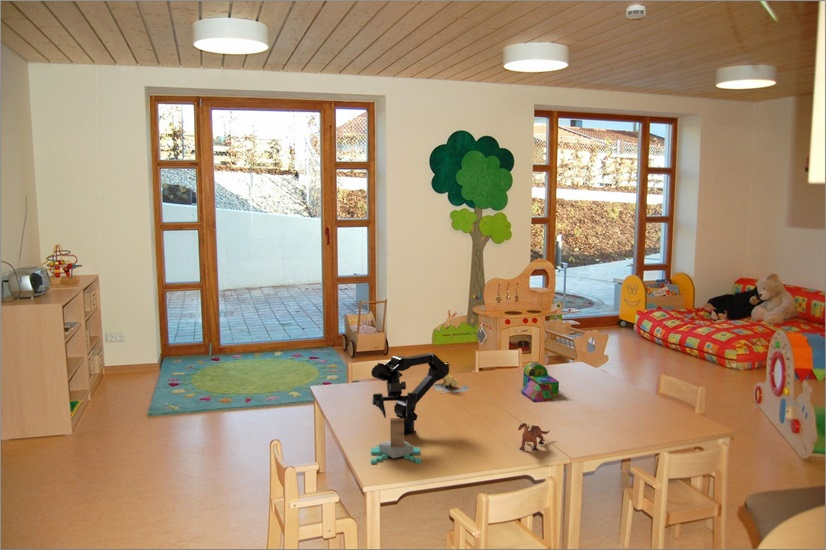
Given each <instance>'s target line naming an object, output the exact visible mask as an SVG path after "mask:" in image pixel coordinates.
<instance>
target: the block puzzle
mask: <svg viewBox="0 0 826 550" xmlns="http://www.w3.org/2000/svg"><path fill="white" fill-rule="evenodd" d="M548 372H549V371H548V370H547V368H546V367H545V366H544V365H543V364H541V363H539V362H537V361H531V362H529V363H527V364H526V365H525V366H524V368H523V373H522V375H523V376H522V377H523V378H522V389H521V391H520V393H521V394H522V395H523V396H525V397H526V398H527V399H528V400H530V401H532V403H537V402H538V403H540V402H547V401H548V402H550V401H554V397H559V393H560V392H559V389H560V388H559V386H560V381H559V380H557V378H554V376H553V377H552V376H551V375H549V374H548Z"/></svg>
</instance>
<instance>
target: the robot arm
mask: <svg viewBox="0 0 826 550" xmlns="http://www.w3.org/2000/svg"><path fill="white" fill-rule="evenodd" d="M425 364H427V366H429V367H428V372H427V375H426V376H425V377H424V378H423V379H422V380H421V382H420V383H419V384H418V385H417V386H416V387H415V388H414V389H413V390H412V392H406V393H407V394H406V395H402V394H403V391H404V390H406V389H407V383H406V381H400V378H401V377H402V376H404V375H403V374H402V372H403V371H407V370H408V369H410V368H411V367H414V366H415V367H416V366H420V365H425ZM449 373H450V366H448V365H447V364H445V362H444V361H443V360H442V359H440V358H439V357H438V356H437V355H436V354H435V353H433V352H426V353H422V354H421V353H420V354H415V355H409V356H405V355H393V356H391V358H390V359H389V360H388V361H387V362H386V363H382V362H380V361H379V362H378V363H377V364H375V366H373V368H372V369H371V372H370V374H371V376H372V378H375V379H377V380H379V381H382V382H386V393H387V396H386V395H383V393H373V395H372V398H371V399H372V401H371V402H372V405H373V406H375V408H378V409H379V410H380V412H381V414H382V415H383V417H384V419H386V417H387V415H386V409H385V402H395V403H394V406H393V408H394V409H393V412H394V413H395V415H396V418H404V436H408V435H410V434H414V433H417V430H415V421H417V419H418V416H419V415H418V414H417V413H416V412H415V411H416V407H417V404H418V403H419V402H420V400H421V399H422V398H423V397H424V396H425V394H427V392H429V390H430V389H431V388H433V387H434V385H433V384H436V382H438V381H441V380H443V378H444V377H445V376H447V375H449Z"/></svg>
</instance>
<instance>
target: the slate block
mask: <svg viewBox="0 0 826 550" xmlns="http://www.w3.org/2000/svg"><path fill="white" fill-rule="evenodd" d="M378 446H379V451H381V452H383V453H385V454H387V455H388V456H390V457H389V458H392V459H396V458H400V457H401V456H404V455H407V454H409V455H411V454H410V453H413V447H415V445H414V446H413V444H411V443H409V442H407V441H405V440H404V447H391V439H389V440H388V441H383V442H380V443H379V444H378ZM401 458H402V457H401Z"/></svg>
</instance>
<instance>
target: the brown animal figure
mask: <svg viewBox="0 0 826 550" xmlns="http://www.w3.org/2000/svg"><path fill="white" fill-rule="evenodd" d="M522 429H524V431H523V432H522V440H521V446H520V447H519V448H518V451H520V452H524V451H525V450H526V447H525V446H526V445H528V443H533V448H531V450H530V451H531V452H537V451H538V450H539V449H538V448H537V447H538V445H541V446H542V445H545V438H544V436H543V435H547V434H549V432H550V431H551V430H550V429H549V430H547V431H545V430H542V429H541V427H540V426H539V425H533V424H532V425H531V426H530V424H527V423H526V422H525V423H520V424H519V427H518V428H517V430H518V431H522ZM537 438H538V439H539V441H537Z"/></svg>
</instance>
